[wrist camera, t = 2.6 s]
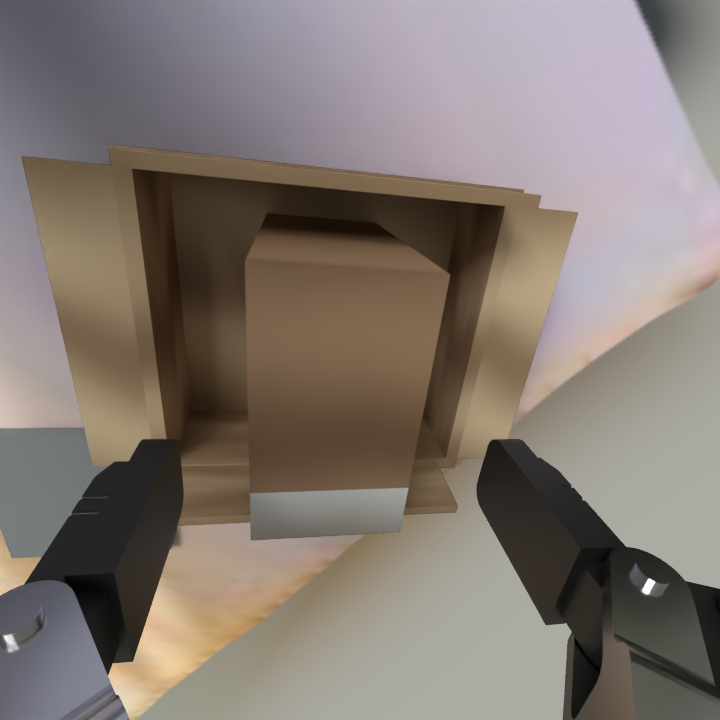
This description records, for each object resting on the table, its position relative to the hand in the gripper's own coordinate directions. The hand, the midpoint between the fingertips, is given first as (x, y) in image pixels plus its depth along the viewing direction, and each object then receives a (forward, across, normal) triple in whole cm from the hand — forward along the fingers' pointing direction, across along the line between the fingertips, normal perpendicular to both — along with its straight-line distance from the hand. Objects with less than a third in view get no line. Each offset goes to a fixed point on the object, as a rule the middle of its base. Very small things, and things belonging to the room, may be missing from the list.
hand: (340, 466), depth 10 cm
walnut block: (+11, 0, 0) cm, 11 cm away
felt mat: (+12, +13, +12) cm, 21 cm away
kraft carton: (+12, 0, 0) cm, 12 cm away
